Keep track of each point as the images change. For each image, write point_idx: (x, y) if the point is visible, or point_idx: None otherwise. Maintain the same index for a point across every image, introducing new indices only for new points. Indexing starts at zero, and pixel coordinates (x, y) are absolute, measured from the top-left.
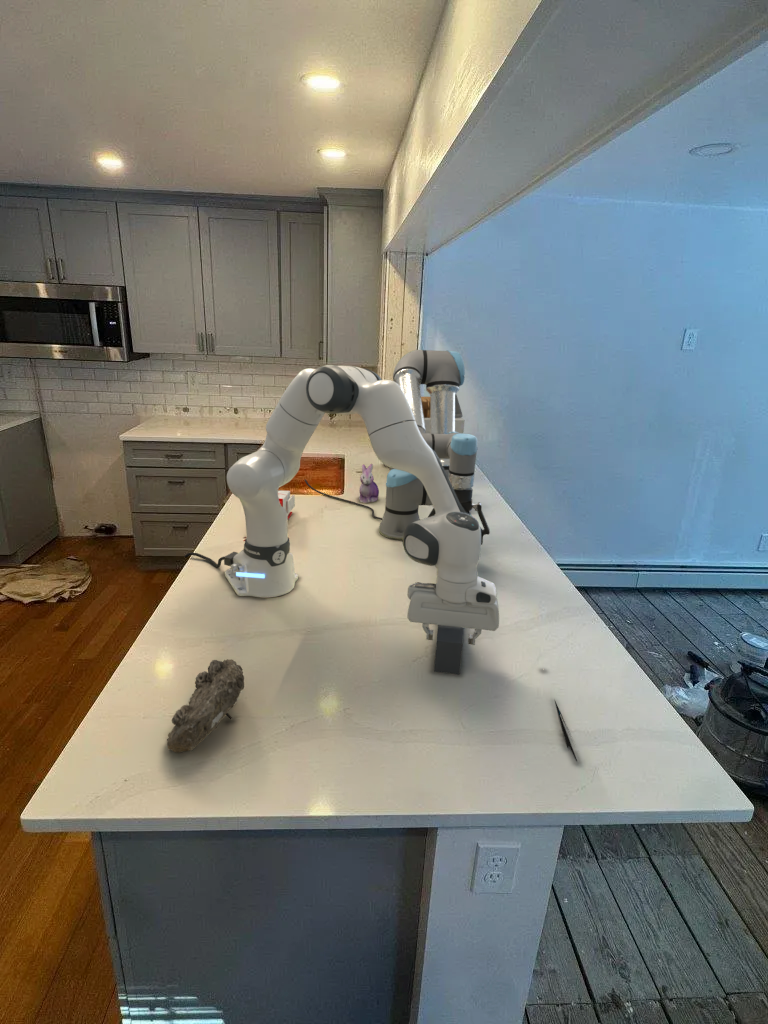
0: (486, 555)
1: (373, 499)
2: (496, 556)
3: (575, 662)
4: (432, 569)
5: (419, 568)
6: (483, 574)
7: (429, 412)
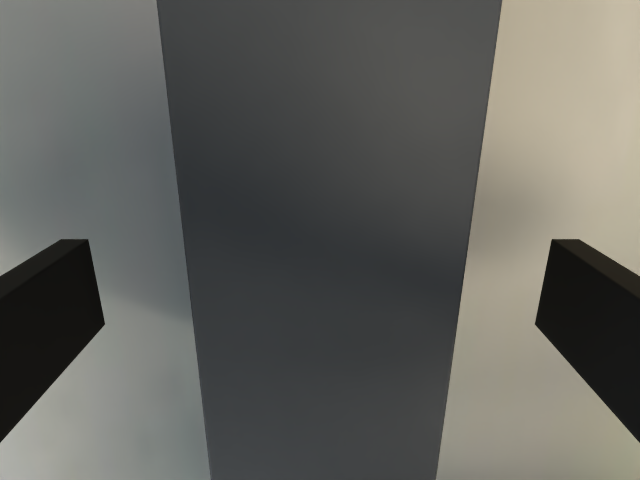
0: (90, 435)
1: None
2: (21, 434)
3: None
4: (491, 118)
5: (604, 114)
6: (53, 115)
7: None
